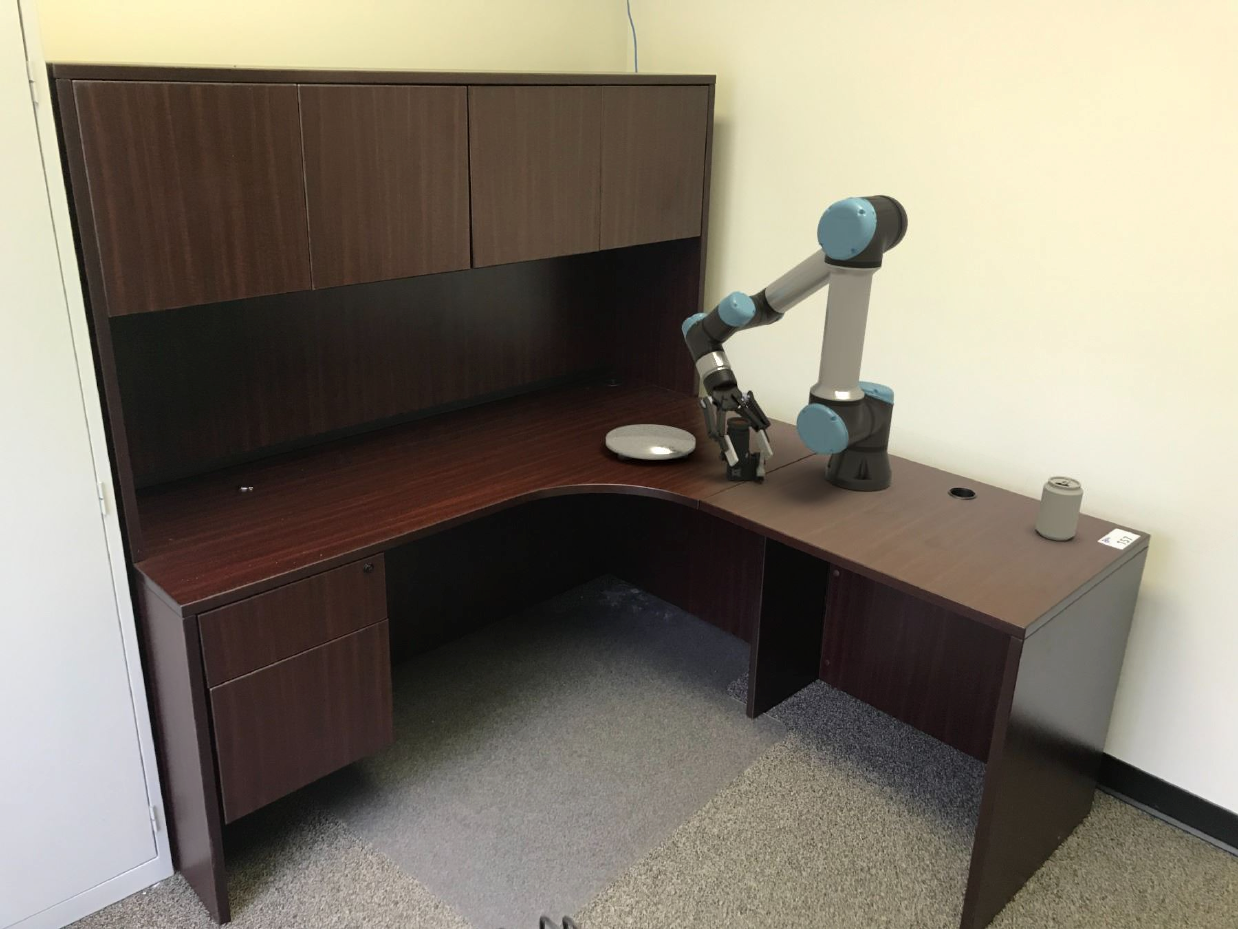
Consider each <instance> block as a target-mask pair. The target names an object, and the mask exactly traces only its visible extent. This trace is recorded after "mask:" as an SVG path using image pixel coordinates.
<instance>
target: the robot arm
mask: <svg viewBox="0 0 1238 929" xmlns="http://www.w3.org/2000/svg"><path fill="white" fill-rule="evenodd" d="M908 219H909V218H908V214H907V211H906V209H905V207H904V206H903V205H902V204H901V203H900V202H899V200H898V199H896V198H895V197H892V196H890V195H889V196H888V195H885V194H878V195H877V194H876V195H868V196H857V197H852V196H850V197H847V198H845V199H841V200H838V201H835V202H833V203H832V204H831V205H830V206H828V208H826V209H825V211H824V212H823V213H822V215H821V217H820V219H819V221H818V225H817V231H816V236H817V242H818V245H819V246H820V247H821V248H820V249H818V250H817V251H815V252H814V253H812V254H811V255H810V256H808V257H807V258H806V259H804V260H802V261H801V262H800V263H799V264H797V265H796V266H794V267H792V269H790V270H788V271H786V272H785V273H784V274H783V275H781V276H780V277H779V278H777V279H775V280H774V281H772V282H771V283H770V284H768V285H767V286H766V287H764V288H763V289H762V290H760V291H758V292H756V293H755V294H753V295H747V294H746V293H744V292H741V291H739V290H738V291H733V292H730V293H729V295H727V296H726V297H724V298H723V299H722V300H721V301H720V302H719V303H718V304H717V305H716V306H715V307H714V308H713V309H712V310H711V311H710V312H708V313H706V312H698V313H695V314H693V315H692V316H690V317H687V318H686V319H685V320H684V321H683V323H682V325H681V330H682V333H683V336H684V341H685V343H686V344H687V347H688V350H689V352H690V354H691V357H692V358H693V361H694V364H695V367H696V369H697V372H698V374H699V377H700V379H701V380H702V385H703V387H704V389H705V391H706V394H707V396H706V395H705V396H704V397H703V398H702V399H701V400H700V401H699V405H700V408H701V409H702V412H703V417H704V423H705V428H706V434H707V436H706V437H707V439H709V440H712V439H713V441H714V442H715V443H718V446H719V447H720V450H721V451H722V452H725V454H726V456H727V459H728V461H729V464H730V466H733V465H734V464H736V463H737V462H738V461H739V460H738V458H737V455H736V453H735V450H734V448H733V445H732V443H731V440H730V438H729V435H726V434H725V431H726V421H727V420H726V417H727V416H726V415H727V413H728V412H734V413H735V414H736V415H739V417H743V418H747V419H749V420H750V421H751V426H750V428H751V429H752V430H753V431H754V432H755V435H754V437H755V440H756V442H757V445H758V448H759V449H760V451H761V450H763V451H765V457H764V459H765V461H767V460H769V459H770V458H771V457H773V455H774V454H773V451H772V448H771V446H770V441H771V440H770V438H769V435H768V433H767V431H766V430H767V429H769V427H770V426H771V425H772V424H771V421H770V420H769V419H768V417H767V416H766V414H765V412H764V411H763V409H762V408H761V406H760V405H759V403H758V402H757V400H756V398H755V396H754V392H753V390H751V389H750V390H748V391H747V392H744V391H743V392H742V391H741V390H740V388H739V386H738V385H739V384H738V380H737V378H736V376H735V374H734V371H733V369H732V366H731V363H730V361H729V359H728V356H727V354H726V352H725V349H724V346H723V344H724V343H725V342H727V340H730V338H731V337H732V336H733V335H734V334H736V333H738V332H741V331H745V330H750V329H754V328H757V327H762V326H769V325H772V324H774V323H777V322H778V321H780V320H782V319H783V317H784V316H785V313H786V312H788V311H789V310H791V309H792V308H794V307H796V306H797V305H798V304H800V303H802V302H803V301H805V300H806V299H808V298H810V297H811V296H813V295H814V294H815V293H818V291H820V290H822V289H823V288H825V287H826V286H828V291H827V300H826V306H825V307H826V309H825V316H824V318H825V319H824V326H823V333H822V334H823V335H822V342H821V344H822V345H821V352H820V361H819V370H818V378H817V382H816V383H815V384H813V385H812V386H810V388H809V395H808V402H807V405H805V406H804V407H803V408H802V409H801V410H800V411H799V413H798V415H797V418H796V423H795V424H796V431H797V435H798V436H799V439H800V440H801V441H802V442H803V443H804V445H805V447H806V448H807V449H808V450H810V451H812V452H813V453H815V454H818V455H823V456H828V455H830V458H828V459H829V460H828V462H827V463H826V466H825V472H824V477H825V479H826V481H827V482H829V483H831V484H832V485H835V486H837V487H839V488H844V489H848V490H854V491H860V492H861V491H862V492H863V491H864V492H865V491H866V492H867V491H869V492H873V491H880V490H884V489H887V488H889V486H891V485H892V479H893V472H892V468H891V462H890V457H889V452H888V448H889V443H890V442H889V441H890V434H891V433H890V432H891V426H892V418H893V410H894V406H895V401H894V400H895V399H894V398H895V393H894V391H893V389H892V388H890V387H889V386H887V385H884V384H881V383H875V382H872V381H871V382H870V381H863V380H860V376H861V370H862V369H861V368H862V361H863V360H862V359H863V352H864V344H865V337H866V329H867V320H868V313H869V306H870V298H871V290H872V284H873V283H872V282H873V277H874V274H876V273H877V272H879V270H880V269H882V267H883V266H882V264H883V259H884V254H885V253H887V252H888V251H891V250H892V249H894V248H896V246H898V245H899V244H900V243H901V241H903V239H904V238H905V236H906V234H907V231H908V226H909V220H908ZM713 405H714V406H715V408H716V411H715V413H714V409H713ZM715 415H716V419H715ZM721 451H720V452H721Z"/></svg>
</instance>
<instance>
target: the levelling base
mask: <svg viewBox="0 0 1238 929" xmlns="http://www.w3.org/2000/svg"><path fill="white" fill-rule="evenodd" d="M605 445H606V447H607V448H608V449H609V450H610V451H612V452H613V453H616V454H618V459H619V460H621V461H630V460H632V458H633V459H640V460H641V459H642V460H670V459H678V460H679V459H680V460H682V459H683V460H685V459H687V458H688V455H689V454H691V453H692V452H693V451H694V450H695V448H696V437H695V436H694V435H693V434H691V433H690V432H689V431H687V430H683V429H681V428H678V427H673V426H669V425H662V424H661V425H660V424H649V423H648V424H646V423H645V424H643V423H642V424H631V425H624V426H620V427H616V428H615V429H612V430H610V431H609V432H608V433H607V434H606V436H605Z"/></svg>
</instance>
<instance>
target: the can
mask: <svg viewBox="0 0 1238 929" xmlns="http://www.w3.org/2000/svg"><path fill="white" fill-rule="evenodd" d="M1081 486H1082V483H1081V481H1079V480H1077V479H1076V478H1073V477H1069V476H1061V475H1054V476H1051V477H1048V479H1047V482H1045V483H1044V484H1043V486H1042V487H1043V488H1042V493H1041V497H1040V502H1039V503H1040V504H1039V509H1038V513H1037V514H1038V515H1037V518H1036V519H1037V520H1036V524H1035V530H1037V531H1038V532H1039V535H1040V536H1042V537H1044V538H1046V539H1049V540H1053V541H1067V540H1069V539H1071V538H1073V537H1074V536H1075V535H1076V531H1077V525H1078V520H1079V516H1080V510H1081V506H1082V500H1083V495H1084V490H1083V488H1082V487H1081Z"/></svg>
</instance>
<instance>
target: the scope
mask: <svg viewBox="0 0 1238 929" xmlns="http://www.w3.org/2000/svg"><path fill="white" fill-rule="evenodd" d="M726 425H727V427H726V434H725V436H726V435H729V438H730V440H731V443H732V445H733V448H734V450H735V453H736V455H737V458H738V460H739V461H738V462H737V463H736V464H734V465H733V466H730V464H729V461H728V459H727V456H726V454H725V452H722V451H720V452H719V457H718V458H719V459H720V461H721V462H722V461H723V462H724V461H725V463H726V473H725V474H726V476H725V477H726V479H728V480H730V481H734V482H736V481H747V480H748V481H749V480H753V481H754V480H755V482H756V483H758V482H762V483H764V481H765V478H764V477H765V475H766V470H765V469H764V466H765V465H766V460H765V459H764V457H765V451H763V450H760V452H759V451H757V452H756V451H755V452H753V453H751V451H750V439H751V438H750V437H751V436H750V435H751V434H750V433H751V432H750V431H751V421H750V420H749V419H747V418H743V417H741V416H733V417H729V418H728V419H727V420H726Z"/></svg>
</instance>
